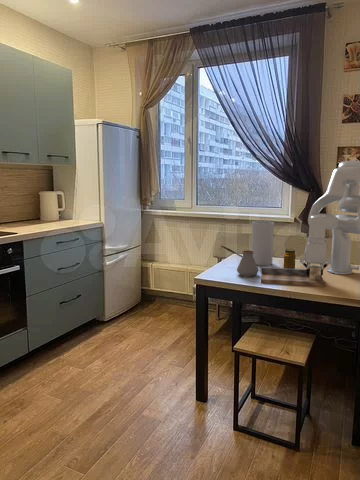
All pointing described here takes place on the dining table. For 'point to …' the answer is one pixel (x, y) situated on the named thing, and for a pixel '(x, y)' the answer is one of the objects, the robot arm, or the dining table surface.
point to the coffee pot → (246, 263)
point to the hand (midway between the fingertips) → (314, 275)
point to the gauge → (315, 272)
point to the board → (288, 277)
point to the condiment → (289, 259)
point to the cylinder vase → (262, 242)
